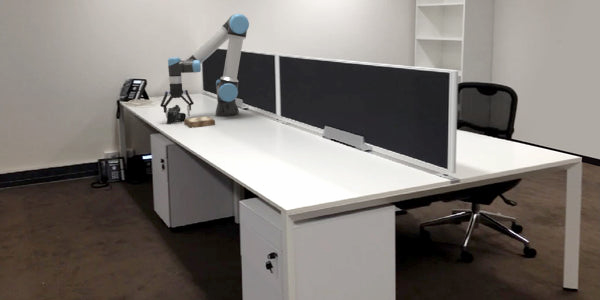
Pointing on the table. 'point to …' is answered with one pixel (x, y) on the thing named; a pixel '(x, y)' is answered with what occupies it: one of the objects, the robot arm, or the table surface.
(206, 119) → the plinth
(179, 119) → the camera
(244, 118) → the table surface
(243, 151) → the table surface
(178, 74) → the robot arm
